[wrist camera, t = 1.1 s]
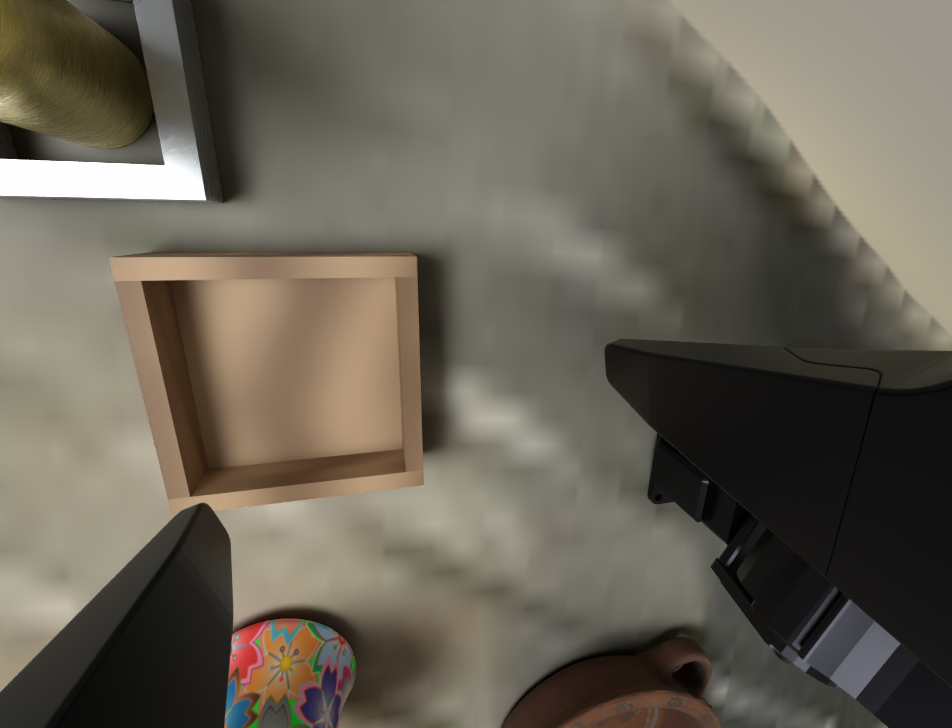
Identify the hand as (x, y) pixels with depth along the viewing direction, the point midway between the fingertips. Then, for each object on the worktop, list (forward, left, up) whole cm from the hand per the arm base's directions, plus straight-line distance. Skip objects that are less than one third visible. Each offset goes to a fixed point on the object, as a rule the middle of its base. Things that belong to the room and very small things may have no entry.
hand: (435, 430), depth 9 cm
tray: (+5, +2, -12) cm, 13 cm away
